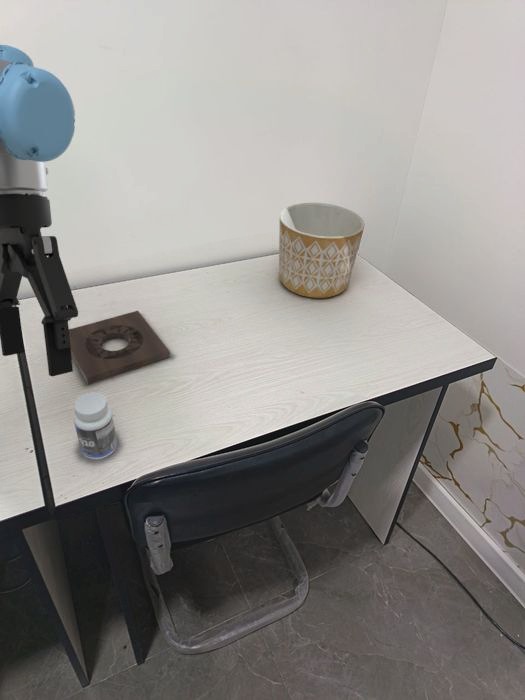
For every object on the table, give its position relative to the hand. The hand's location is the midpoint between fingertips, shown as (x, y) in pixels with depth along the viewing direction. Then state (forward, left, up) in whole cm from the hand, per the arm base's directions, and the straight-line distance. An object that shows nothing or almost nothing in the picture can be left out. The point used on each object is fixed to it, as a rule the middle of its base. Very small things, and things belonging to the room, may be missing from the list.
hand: (35, 363), depth 65 cm
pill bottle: (+5, -2, -18) cm, 19 cm away
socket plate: (+16, +21, -18) cm, 32 cm away
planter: (+67, +23, -18) cm, 74 cm away
